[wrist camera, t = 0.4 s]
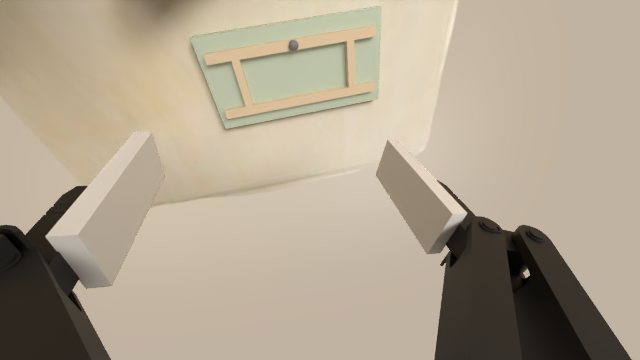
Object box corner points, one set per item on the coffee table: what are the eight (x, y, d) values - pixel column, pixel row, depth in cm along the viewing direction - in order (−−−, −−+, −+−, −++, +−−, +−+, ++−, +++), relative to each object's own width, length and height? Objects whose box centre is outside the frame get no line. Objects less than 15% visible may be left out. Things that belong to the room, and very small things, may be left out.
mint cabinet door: (192, 36, 30) (187, 39, 28) (376, 6, 32) (385, 7, 30) (226, 124, 38) (224, 133, 35) (374, 95, 40) (381, 102, 38)
